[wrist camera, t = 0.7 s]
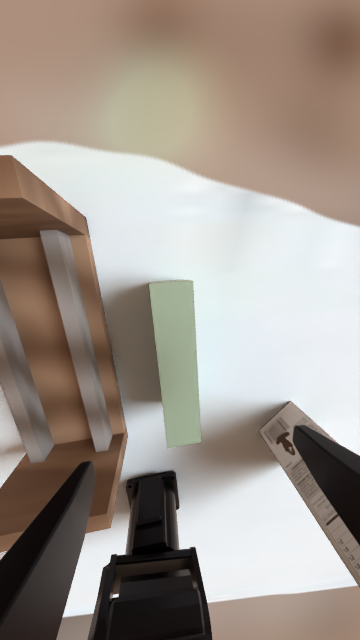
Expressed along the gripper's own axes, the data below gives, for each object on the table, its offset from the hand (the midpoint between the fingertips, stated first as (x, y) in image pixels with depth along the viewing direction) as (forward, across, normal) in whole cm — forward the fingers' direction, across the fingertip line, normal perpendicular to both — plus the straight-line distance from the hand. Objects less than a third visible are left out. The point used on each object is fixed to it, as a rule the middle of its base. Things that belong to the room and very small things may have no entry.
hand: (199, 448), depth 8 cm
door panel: (+12, 0, 0) cm, 12 cm away
